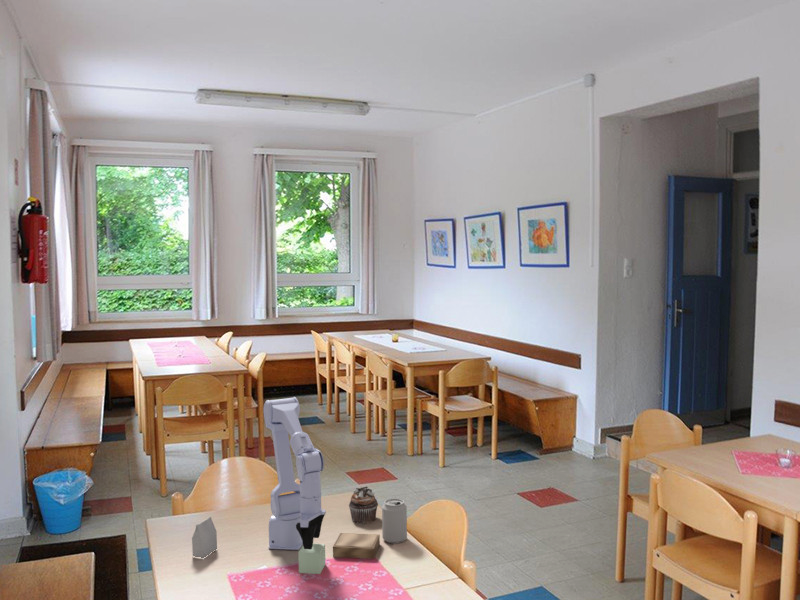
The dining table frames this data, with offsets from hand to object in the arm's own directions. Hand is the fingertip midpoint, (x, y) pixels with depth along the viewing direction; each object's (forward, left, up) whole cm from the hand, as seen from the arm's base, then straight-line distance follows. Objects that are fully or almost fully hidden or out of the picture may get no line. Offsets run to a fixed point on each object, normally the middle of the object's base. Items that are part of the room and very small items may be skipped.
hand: (311, 543), depth 196 cm
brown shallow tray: (+10, +13, -7) cm, 18 cm away
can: (+20, +22, -8) cm, 31 cm away
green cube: (0, 0, -8) cm, 8 cm away
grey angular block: (-34, +6, -8) cm, 35 cm away
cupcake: (+7, +38, -8) cm, 39 cm away
